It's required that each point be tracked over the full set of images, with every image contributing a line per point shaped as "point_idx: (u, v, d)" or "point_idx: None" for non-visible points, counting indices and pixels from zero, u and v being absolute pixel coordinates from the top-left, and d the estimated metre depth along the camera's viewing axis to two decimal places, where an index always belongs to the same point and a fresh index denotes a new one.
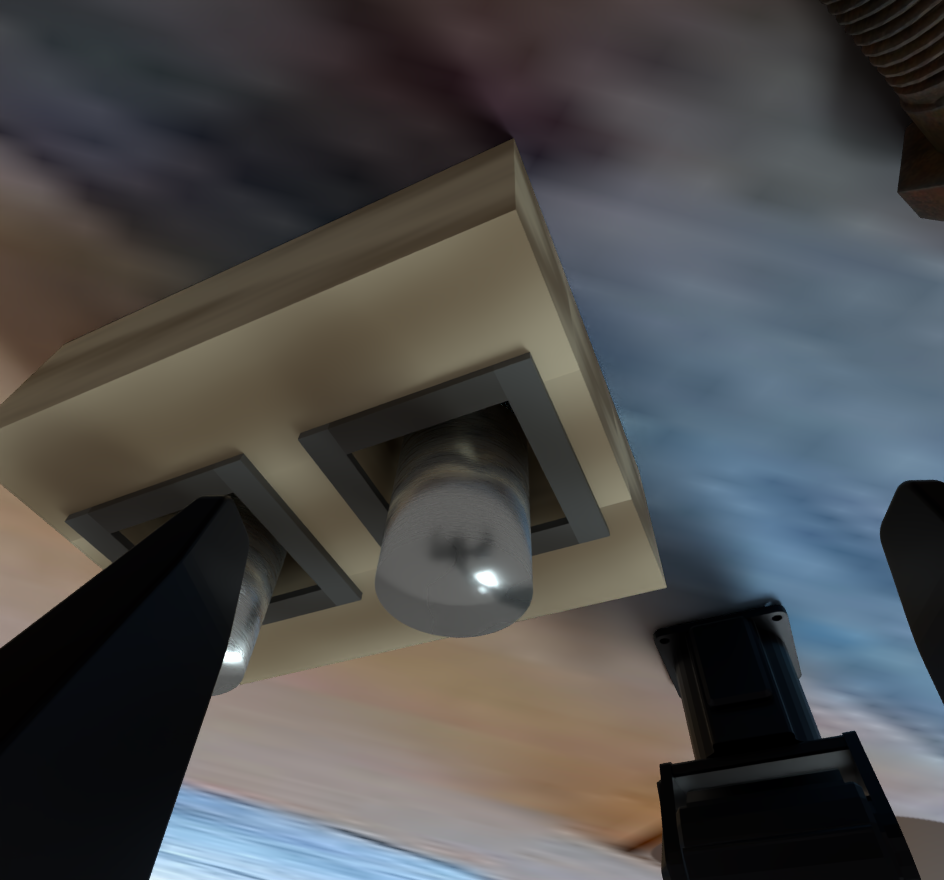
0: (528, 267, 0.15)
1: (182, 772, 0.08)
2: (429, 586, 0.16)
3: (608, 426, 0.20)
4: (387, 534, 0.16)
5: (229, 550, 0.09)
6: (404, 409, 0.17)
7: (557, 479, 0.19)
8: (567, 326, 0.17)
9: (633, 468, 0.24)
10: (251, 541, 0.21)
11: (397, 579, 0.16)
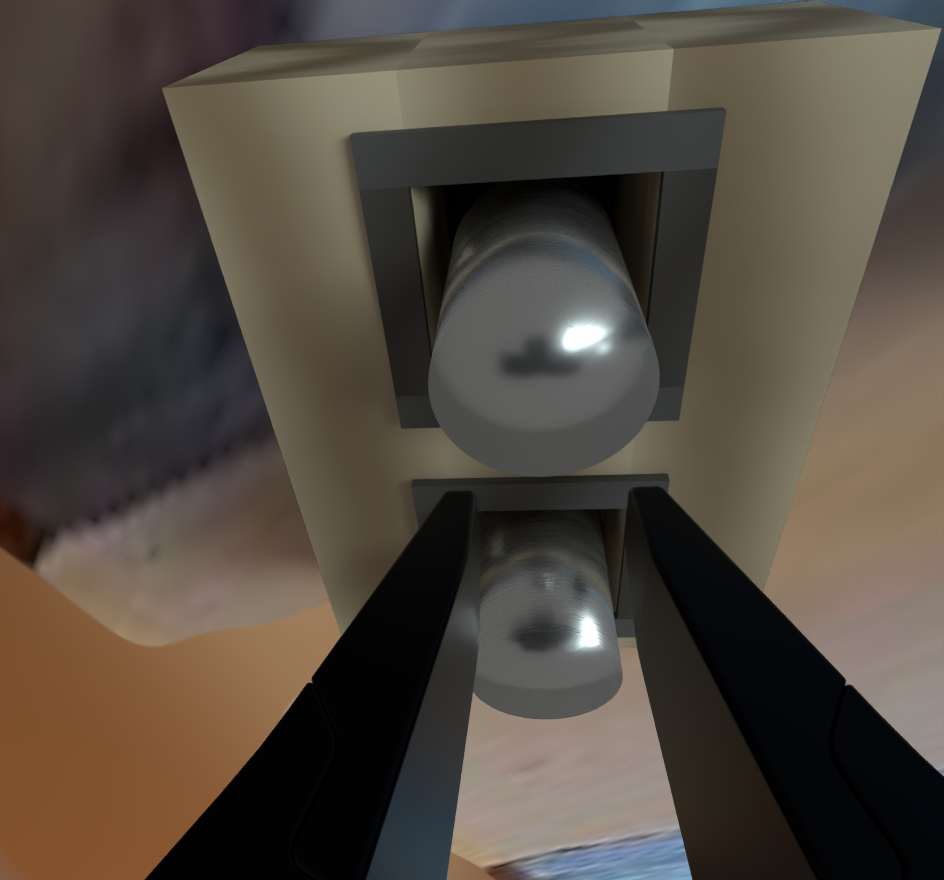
0: (235, 95, 0.12)
1: (460, 776, 0.08)
2: (520, 414, 0.12)
3: (563, 46, 0.13)
4: None
5: (476, 546, 0.09)
6: (390, 311, 0.15)
7: (567, 162, 0.12)
8: (363, 64, 0.13)
9: (754, 14, 0.14)
10: (516, 531, 0.18)
11: (493, 442, 0.12)
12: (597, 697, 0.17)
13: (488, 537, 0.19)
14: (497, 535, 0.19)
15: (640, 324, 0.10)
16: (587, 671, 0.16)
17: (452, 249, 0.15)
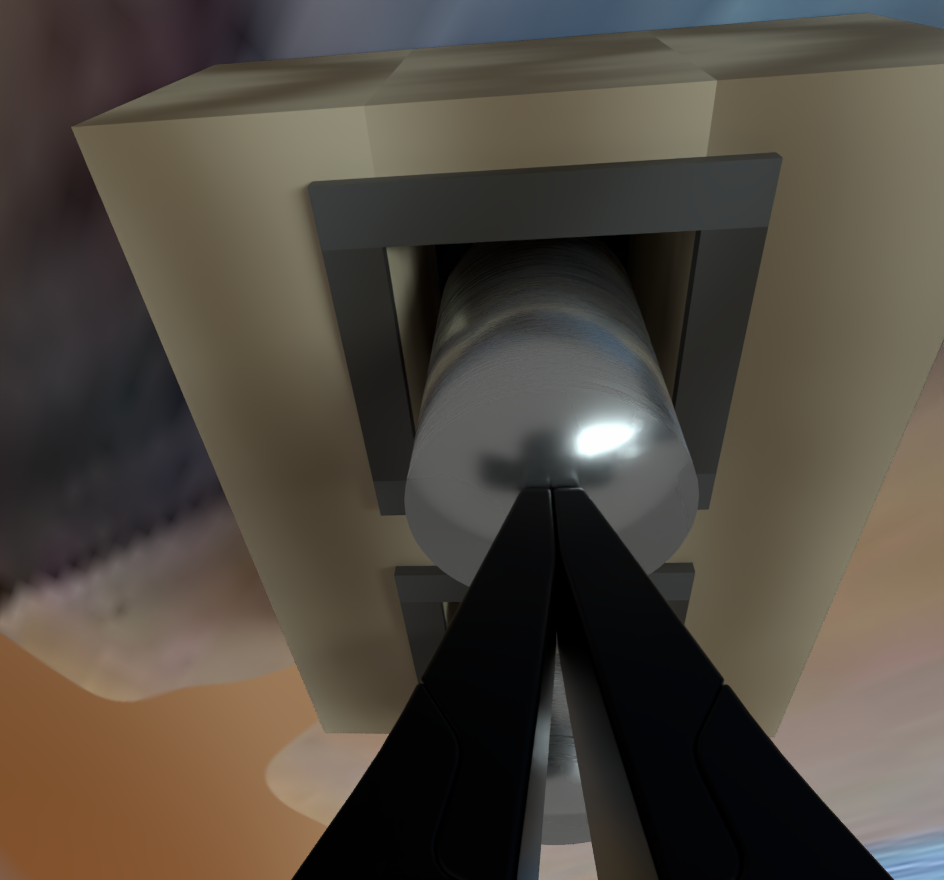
0: (163, 136, 0.10)
1: None
2: None
3: (575, 73, 0.10)
4: None
5: None
6: (364, 389, 0.12)
7: (579, 219, 0.10)
8: (326, 96, 0.10)
9: (803, 31, 0.12)
10: None
11: None
12: None
13: None
14: None
15: (676, 438, 0.08)
16: None
17: (440, 309, 0.12)
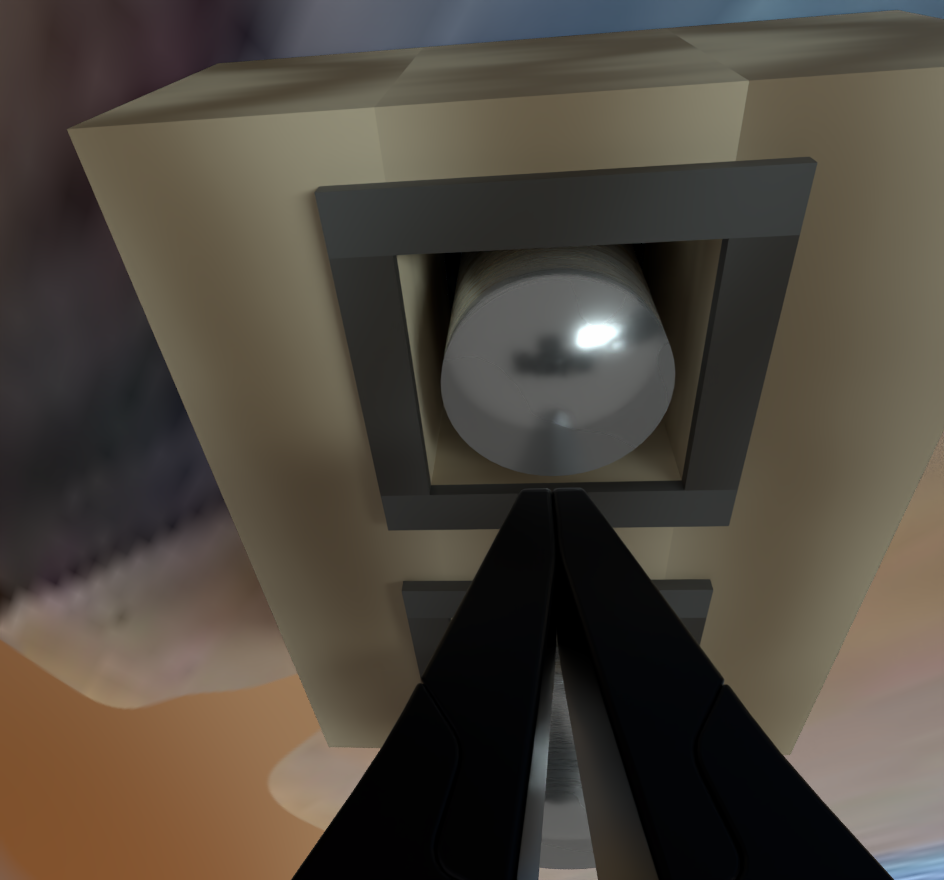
0: (163, 139, 0.09)
1: None
2: (534, 413, 0.11)
3: (595, 73, 0.10)
4: None
5: None
6: (372, 401, 0.12)
7: (600, 227, 0.09)
8: (334, 96, 0.10)
9: (832, 28, 0.11)
10: None
11: (505, 441, 0.12)
12: None
13: None
14: None
15: (656, 322, 0.10)
16: None
17: None
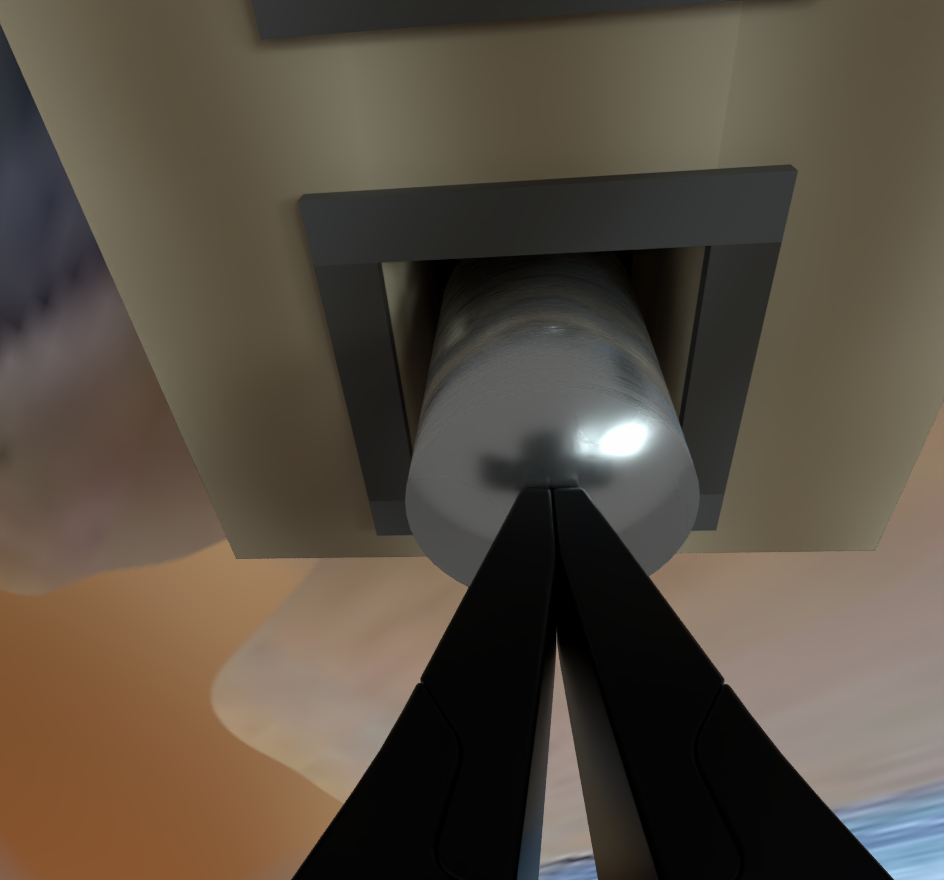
0: None
1: None
2: None
3: None
4: None
5: None
6: None
7: None
8: None
9: None
10: (500, 280, 0.10)
11: None
12: (647, 554, 0.09)
13: (452, 305, 0.11)
14: (467, 295, 0.11)
15: None
16: (632, 491, 0.09)
17: None
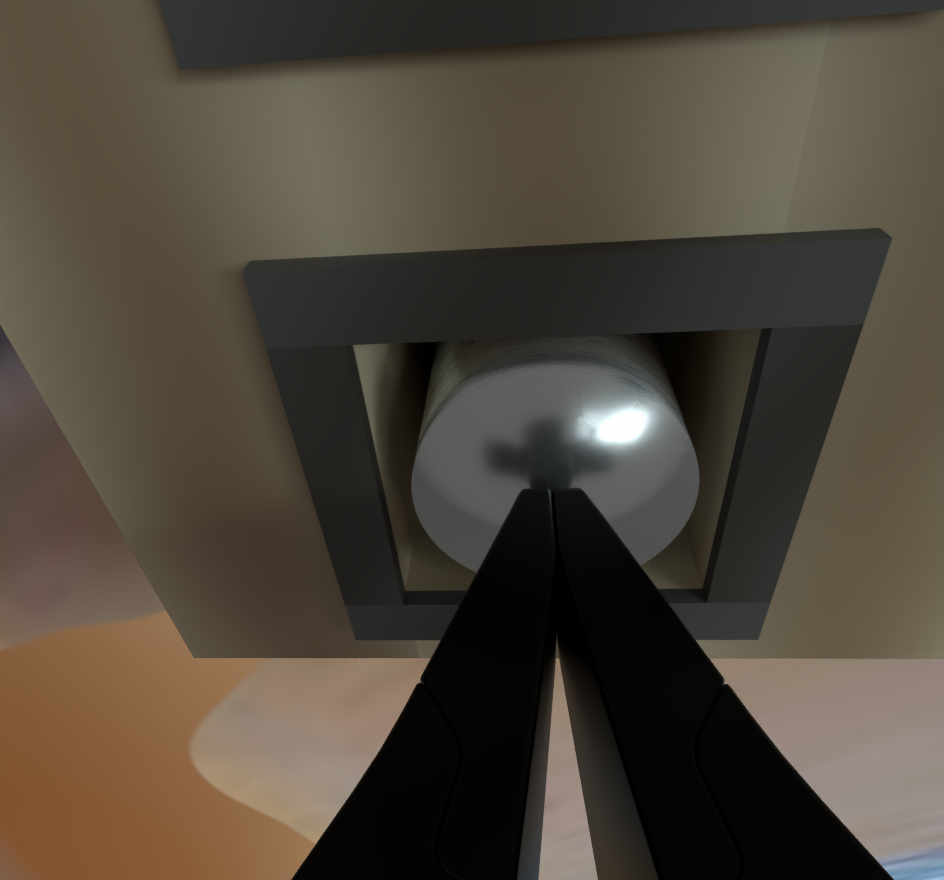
0: None
1: None
2: None
3: None
4: None
5: None
6: None
7: None
8: None
9: None
10: None
11: None
12: (648, 537, 0.09)
13: None
14: None
15: None
16: (632, 475, 0.09)
17: None
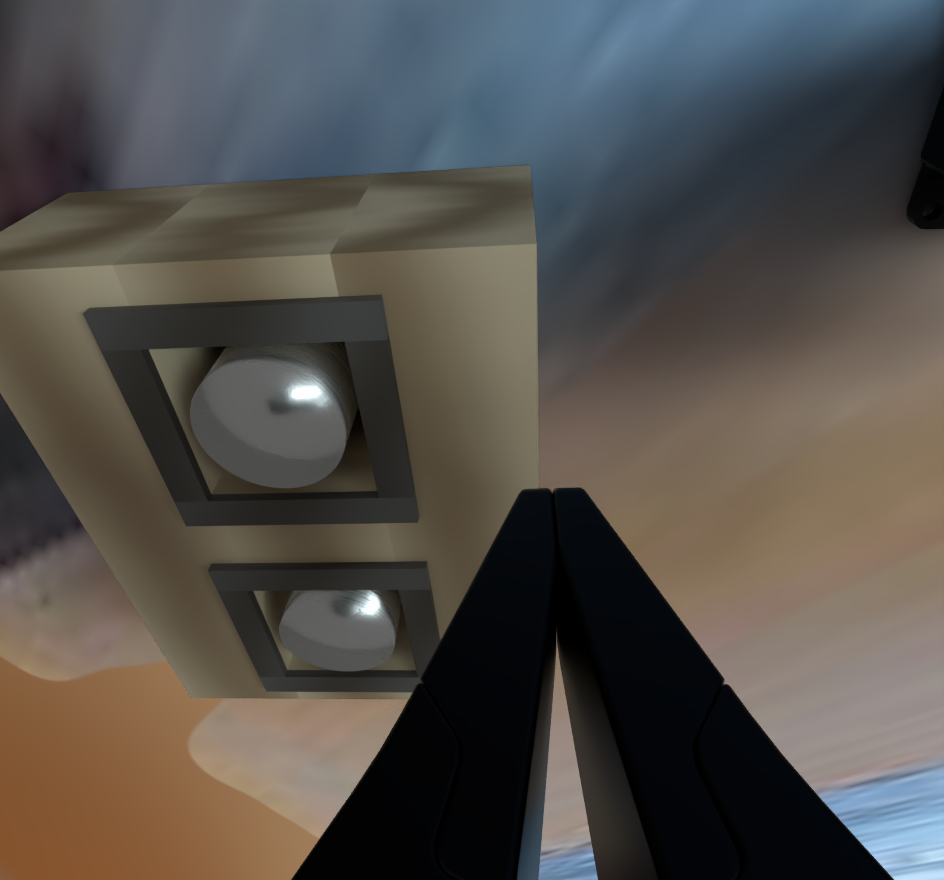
0: None
1: None
2: (259, 447, 0.17)
3: (266, 235, 0.15)
4: None
5: None
6: (151, 438, 0.17)
7: (263, 334, 0.15)
8: (101, 249, 0.15)
9: (458, 189, 0.17)
10: None
11: (246, 465, 0.17)
12: (380, 653, 0.23)
13: None
14: None
15: (318, 390, 0.16)
16: (366, 632, 0.22)
17: None
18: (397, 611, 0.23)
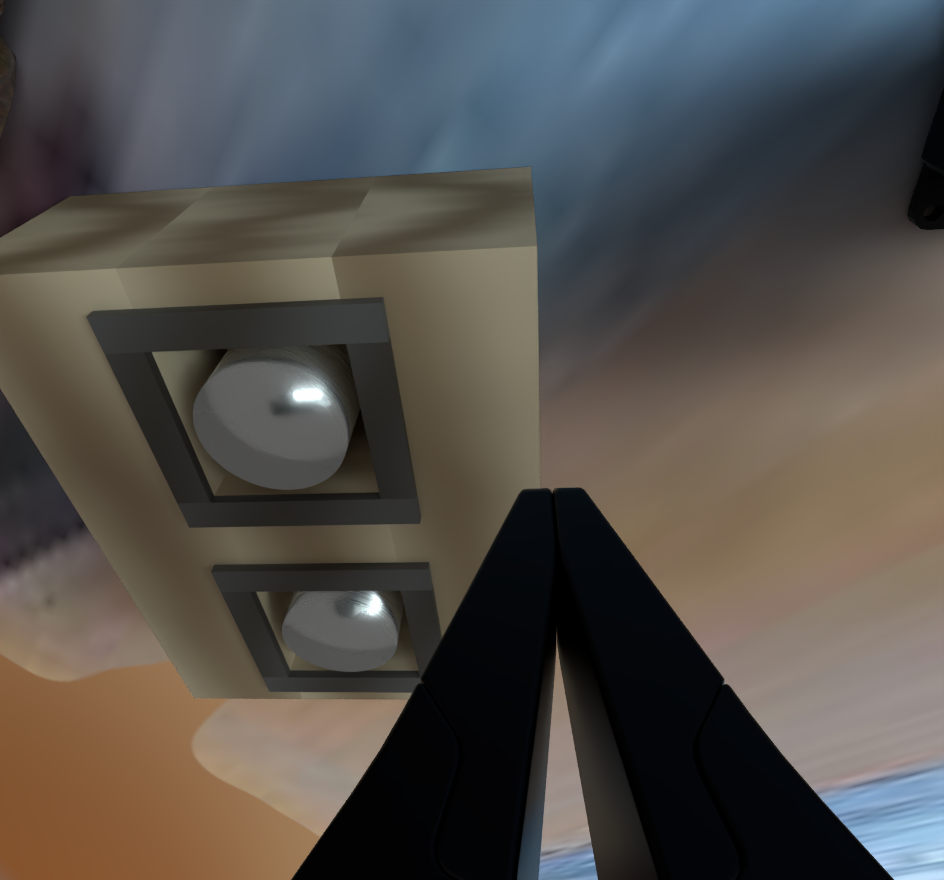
0: None
1: None
2: (261, 448, 0.17)
3: (268, 238, 0.15)
4: None
5: None
6: (154, 440, 0.17)
7: (265, 337, 0.15)
8: (104, 253, 0.15)
9: (459, 191, 0.17)
10: None
11: (249, 467, 0.18)
12: (383, 653, 0.23)
13: None
14: None
15: (320, 392, 0.16)
16: (368, 632, 0.22)
17: None
18: (399, 612, 0.23)
